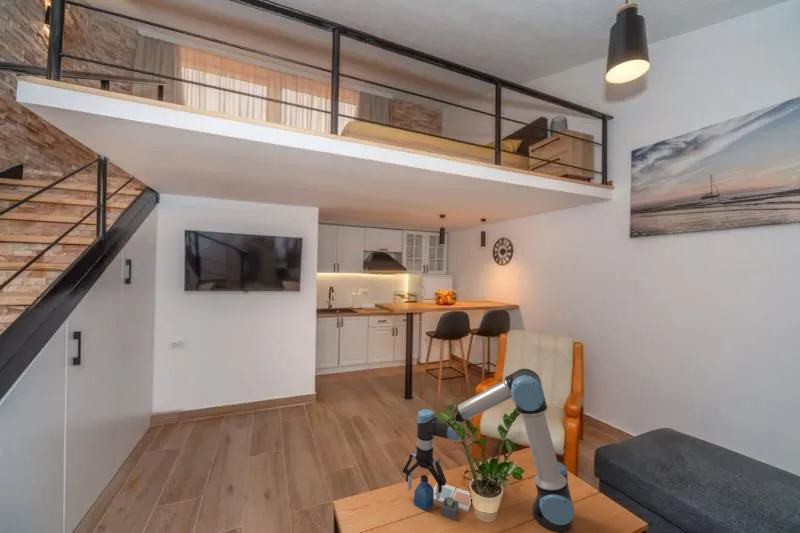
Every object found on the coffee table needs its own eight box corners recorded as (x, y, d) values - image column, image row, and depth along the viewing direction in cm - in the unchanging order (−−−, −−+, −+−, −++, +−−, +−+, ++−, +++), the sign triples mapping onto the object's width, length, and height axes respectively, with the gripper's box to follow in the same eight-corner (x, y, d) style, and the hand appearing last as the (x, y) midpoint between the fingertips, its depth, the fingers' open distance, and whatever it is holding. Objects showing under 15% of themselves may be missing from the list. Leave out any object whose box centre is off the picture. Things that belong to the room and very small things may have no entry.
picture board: (473, 495, 148) (473, 492, 148) (468, 512, 137) (468, 509, 137) (437, 483, 155) (437, 481, 155) (429, 499, 144) (429, 496, 144)
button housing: (458, 511, 138) (458, 501, 138) (454, 520, 132) (454, 510, 132) (445, 506, 140) (445, 497, 140) (441, 515, 135) (441, 506, 135)
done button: (453, 507, 137) (454, 498, 137) (452, 511, 134) (452, 502, 134) (447, 505, 138) (447, 496, 138) (445, 509, 135) (446, 500, 136)
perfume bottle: (426, 511, 137) (426, 483, 137) (414, 505, 141) (414, 477, 141) (433, 503, 142) (433, 476, 142) (421, 497, 146) (422, 471, 146)
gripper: (454, 449, 140) (452, 497, 140) (403, 435, 151) (401, 480, 150) (449, 458, 133) (447, 509, 133) (396, 442, 144) (394, 490, 143)
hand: (423, 494), depth 141 cm, fingers open, 13 cm apart
